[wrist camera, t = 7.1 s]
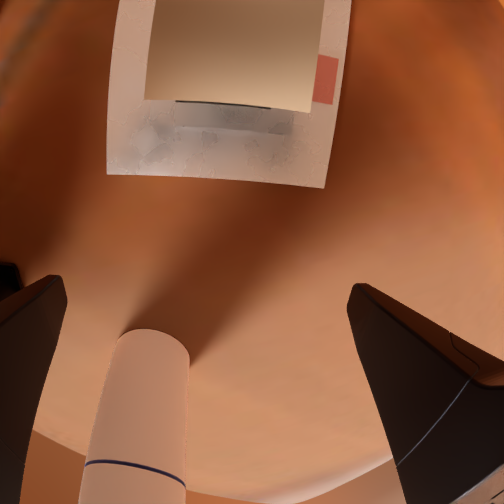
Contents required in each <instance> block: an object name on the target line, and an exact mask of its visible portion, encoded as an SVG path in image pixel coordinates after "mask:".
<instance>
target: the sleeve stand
mask: <svg viewBox="0 0 504 504" xmlns="http://www.w3.org/2000/svg"><path fill="white" fill-rule="evenodd" d="M155 3H156V0H120V2H119V8H118V14H117V20H116V26H115V33H114V41H113V49H112V58H111V68H110V80H109V94H108V113H107V174H120V175H159V176H182V177H201V178H217V179H231V180H244V181H256V182H267V183H278V184H288V185H297V186H306V187H315V188H323V189H324V186H325V180H326V175H327V170H328V164H329V159H330V153H331V147H332V141H333V136H334V130H335V123H336V117H337V111H338V104H339V98H340V91H341V84H342V77H343V70H344V62H345V55H346V46H347V38H348V29H349V20H350V11H351V0H325V2H324V10H323V19H322V27H321V36H320V44H319V52H318V59H317V67H316V74H315V82H314V89H313V96H312V103H311V110H310V113H306V112H299V111H293V110H286V109H279V108H271V107H263V106H254V105H244V104H234V103H221V102H207V101H186V100H144V92H145V81H146V70H147V60H148V51H149V43H150V36H151V28H152V21H153V15H154V9H155Z"/></svg>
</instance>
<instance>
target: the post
mask: <svg viewBox="0 0 504 504" xmlns="http://www.w3.org/2000/svg"><path fill="white" fill-rule="evenodd" d="M324 2H325V0H156V3H155V9H154V15H153V21H152V28H151V36H150V43H149V51H148V60H147V70H146V81H145V92H144V100H186V101H207V102H221V103H234V104H244V105H254V106H263V107H271V108H279V109H286V110H293V111H299V112H306V113H310V110H311V103H312V96H313V89H314V82H315V74H316V67H317V59H318V52H319V44H320V36H321V27H322V19H323V10H324Z"/></svg>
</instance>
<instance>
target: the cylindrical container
mask: <svg viewBox="0 0 504 504" xmlns="http://www.w3.org/2000/svg"><path fill="white" fill-rule="evenodd" d="M189 365H190V358H189V354H188V352H187V350H186V348H185V347H184V346H183V345H182V344H181V343H180V342H179V341H178V340H177V339H175V338H174V337H172V336H170V335H168V334H166V333H163V332H160V331H157V330H151V329H137V330H132V331H129V332H127V333H125V334H123V335H122V336H121V337H120V338H119V339H118V340H117V342H116V344H115V348H114V351H113V354H112V358H111V361H110V365H109V368H108V372H107V375H106V379H105V382H104V386H103V390H102V394H101V397H100V401H99V405H98V409H97V413H96V417H95V421H94V425H93V429H92V434H91V438H90V443H89V447H88V452H87V457H86V461H85V468H84V472H83V477H82V483H81V489H80V495H79V502H78V504H186V501H185V499H186V496H185V495H186V491H185V490H186V429H187V403H188V383H189Z"/></svg>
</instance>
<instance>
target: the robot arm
mask: <svg viewBox="0 0 504 504" xmlns="http://www.w3.org/2000/svg"><path fill="white" fill-rule="evenodd" d="M12 269H13V270H12ZM66 307H67V295H66V291H65V287H64V283H63V279H62V277H61V276H60V275H47V276H46V277H44V278H42V279H40V280H38V281H36V282H34V283H33V284H31V285H29V286H27V287H25V288H24V289H23V287H22V284H21V280H20V276H19V273H18V269H17V267H16V265H14V264H12V263H3V262H0V504H19V502H20V494H21V486H22V480H23V474H24V468H25V461H26V456H27V451H28V446H29V441H30V437H31V432H32V428H33V424H34V420H35V416H36V412H37V408H38V404H39V401H40V397H41V393H42V390H43V387H44V383H45V380H46V377H47V373H48V370H49V367H50V364H51V361H52V358H53V355H54V352H55V349H56V346H57V342H58V339H59V334H60V330H61V326H62V322H63V318H64V315H65V311H66ZM347 314H348V318H349V321H350V325H351V329H352V333H353V337H354V341H355V345H356V349H357V352H358V355H359V358H360V360H361V363H362V366H363V369H364V371H365V374H366V377H367V380H368V383H369V385H370V388H371V391H372V394H373V397H374V400H375V403H376V406H377V408H378V411H379V414H380V417H381V420H382V423H383V426H384V430H385V433H386V436H387V439H388V442H389V445H390V448H391V451H392V455H393V458H394V461H395V464H396V466H397V467H396V469H397V472H398V475H399V479H400V482H401V485H402V489H403V493H404V496H405V500H406V503H407V504H504V361H502V360H500V359H498V358H497V357H495V356H493V355H491V354H489V353H487V352H485V351H483V350H481V349H479V348H478V347H476V346H474V345H472V344H470V343H469V342H467V341H465V340H463V339H462V338H460V337H458V336H456V335H455V334H453V333H451V332H449V331H448V330H446V329H445V328H443V327H441V326H440V325H438V324H436V323H435V322H433V321H431V320H429V319H428V318H426V317H424V316H423V315H421V314H419V313H417V312H416V311H414V310H412V309H411V308H409V307H407V306H405V305H404V304H402V303H400V302H399V301H397V300H395V299H393V298H392V297H390V296H388V295H386V294H385V293H383V292H381V291H379V290H378V289H376V288H374V287H372V286H371V285H369V284H367V283H356V284H354V285H353V287H352V290H351V294H350V297H349V300H348V303H347Z"/></svg>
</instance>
